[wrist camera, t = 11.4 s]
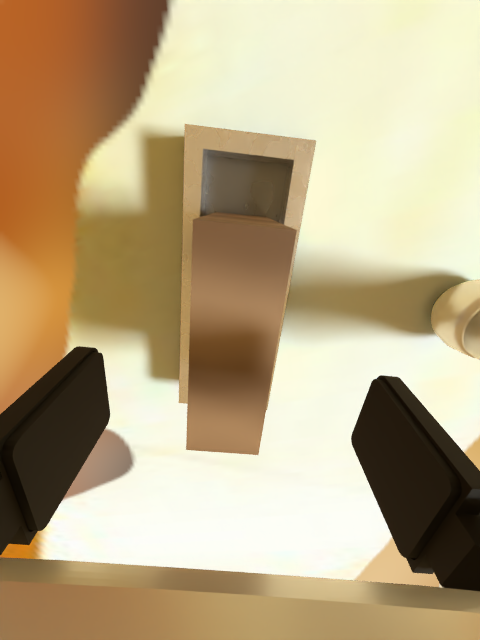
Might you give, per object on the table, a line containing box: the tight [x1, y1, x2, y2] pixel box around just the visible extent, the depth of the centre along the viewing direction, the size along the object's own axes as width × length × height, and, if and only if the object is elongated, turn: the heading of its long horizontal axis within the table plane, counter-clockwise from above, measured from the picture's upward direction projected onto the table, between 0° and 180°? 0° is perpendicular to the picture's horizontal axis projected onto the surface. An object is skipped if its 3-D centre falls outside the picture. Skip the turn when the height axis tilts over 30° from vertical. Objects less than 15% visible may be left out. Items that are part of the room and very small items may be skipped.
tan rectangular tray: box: [179, 124, 316, 410], centre depth 23 cm, size 22×9×4 cm, turn 174°
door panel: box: [186, 212, 297, 455], centre depth 18 cm, size 12×4×12 cm, turn 174°
